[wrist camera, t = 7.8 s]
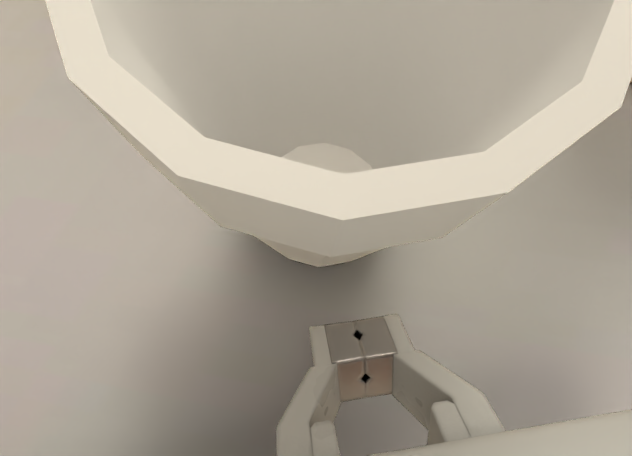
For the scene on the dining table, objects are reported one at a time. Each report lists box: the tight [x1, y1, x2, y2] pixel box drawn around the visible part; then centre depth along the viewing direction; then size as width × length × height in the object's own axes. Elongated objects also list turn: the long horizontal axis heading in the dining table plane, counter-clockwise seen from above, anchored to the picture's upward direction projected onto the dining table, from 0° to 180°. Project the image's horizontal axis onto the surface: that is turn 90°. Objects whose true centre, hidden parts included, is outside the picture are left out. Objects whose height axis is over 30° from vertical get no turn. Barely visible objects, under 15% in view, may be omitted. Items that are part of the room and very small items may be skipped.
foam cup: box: [45, 0, 632, 267], centre depth 12 cm, size 10×9×13 cm
